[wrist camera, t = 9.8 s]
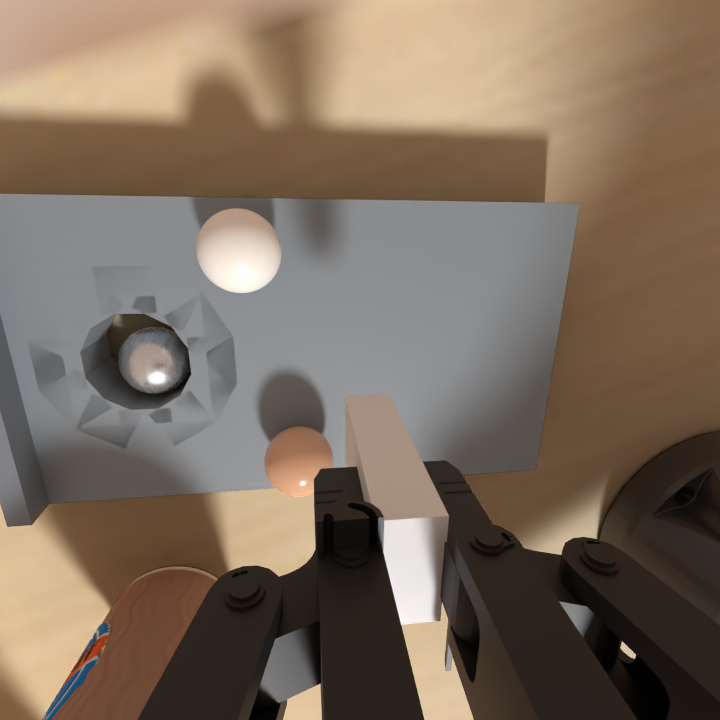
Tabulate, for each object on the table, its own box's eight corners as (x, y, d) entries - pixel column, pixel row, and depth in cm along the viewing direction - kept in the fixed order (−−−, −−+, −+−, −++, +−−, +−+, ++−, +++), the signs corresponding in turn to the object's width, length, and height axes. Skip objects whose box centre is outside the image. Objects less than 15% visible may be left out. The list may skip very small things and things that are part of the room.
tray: (545, 203, 23) (601, 202, 19) (511, 442, 28) (550, 485, 23) (-10, 194, 19) (-93, 191, 15) (57, 470, 24) (7, 526, 20)
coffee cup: (97, 532, 26) (-57, 786, 14) (275, 551, 28) (262, 786, 17) (83, 662, 29) (-55, 959, 17) (245, 671, 31) (217, 939, 19)
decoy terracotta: (330, 413, 22) (336, 445, 19) (331, 469, 23) (336, 508, 20) (264, 416, 21) (259, 450, 18) (268, 473, 22) (264, 514, 19)
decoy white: (280, 208, 18) (278, 209, 15) (284, 285, 20) (282, 299, 17) (201, 207, 18) (182, 207, 15) (208, 286, 19) (192, 300, 16)
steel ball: (169, 347, 19) (96, 340, 19) (178, 409, 20) (110, 403, 21) (199, 319, 22) (135, 313, 22) (204, 376, 23) (144, 370, 23)
